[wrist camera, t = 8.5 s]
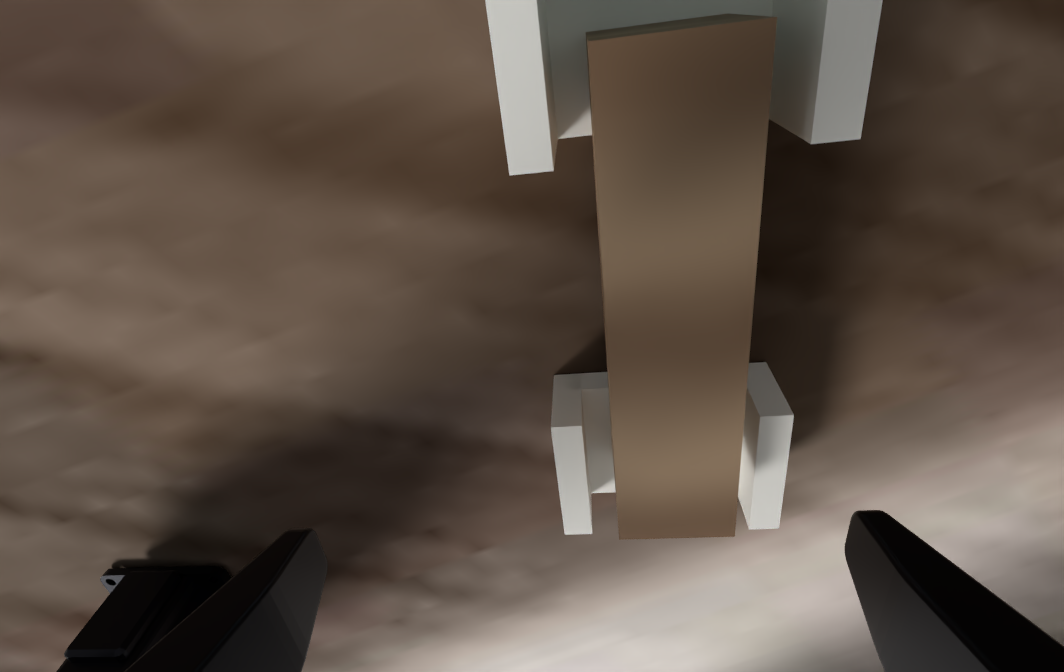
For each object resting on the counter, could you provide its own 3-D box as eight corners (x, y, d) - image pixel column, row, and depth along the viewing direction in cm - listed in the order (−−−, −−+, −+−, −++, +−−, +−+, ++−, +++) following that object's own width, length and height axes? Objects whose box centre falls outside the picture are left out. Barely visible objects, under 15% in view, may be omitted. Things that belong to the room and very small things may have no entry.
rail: (708, 448, 21) (734, 536, 18) (612, 452, 21) (619, 539, 18) (728, 13, 14) (777, 16, 11) (585, 31, 14) (588, 41, 11)
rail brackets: (755, 468, 23) (808, 606, 17) (566, 475, 23) (563, 609, 18) (821, -204, 13) (989, -346, 8) (490, -148, 14) (438, -239, 8)
